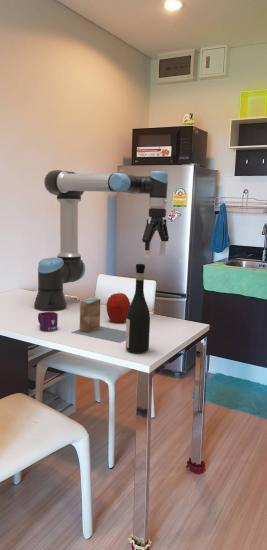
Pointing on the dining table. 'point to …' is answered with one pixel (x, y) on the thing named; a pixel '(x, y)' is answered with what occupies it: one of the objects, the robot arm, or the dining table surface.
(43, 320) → the mug
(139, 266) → the wine bottle
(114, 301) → the apple
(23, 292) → the dining table surface
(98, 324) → the block
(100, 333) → the mat
